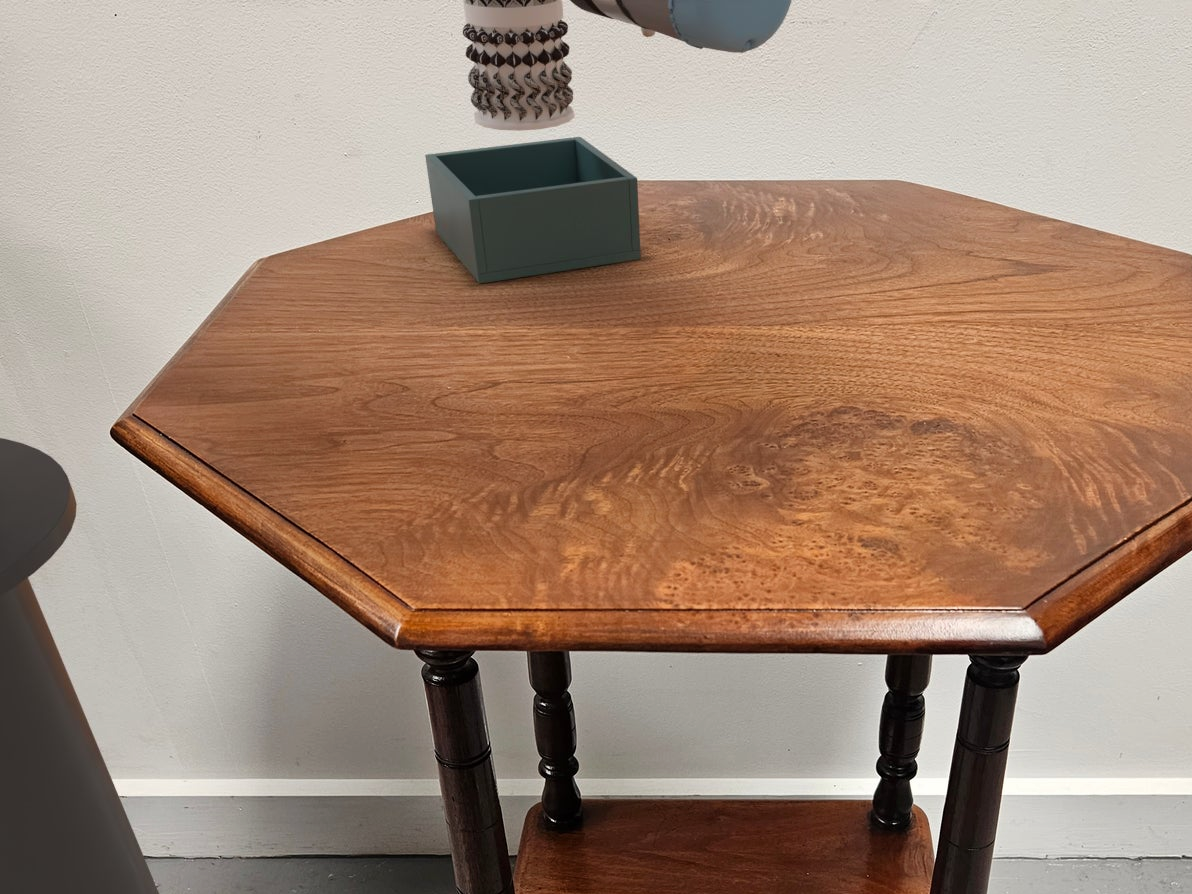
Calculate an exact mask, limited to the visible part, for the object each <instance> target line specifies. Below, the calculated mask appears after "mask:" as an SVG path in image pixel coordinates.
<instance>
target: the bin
mask: <svg viewBox="0 0 1192 894" xmlns="http://www.w3.org/2000/svg"><path fill="white" fill-rule="evenodd" d="M424 158H425V163H426V170H427V171H426V172H427V179H428V184H429V192H430V198H431V199H430V200H431V207H432V212H433V219H434V227H435V232H436V234H437V236H439V238H440V239H441V240H442V241H443V243H445V245H446V246H447V248H449V250H450V251H451V252H452V253H453V254H454V255H455V257H456V258H457V259H458V260H459V262H460V263H461V264H462V265H463V266H464V267H465V268H466V270H467V271H468V272H469V273H470V274H471V276H472V277H473V278H474V280H475V281H476V282H477V283H478V284H480V285H481V284H487V283H492V282H493V283H494V282H500V281H506V280H507V281H508V280H514V279H519V278H526V277H532V276H539V275H545V274H552V273H559V272H565V271H571V270H577V269H584V268H590V267H599V266H606V265H611V264H618V263H624V262H630V261H638V260H642V252H641V251H642V250H641V234H640V233H641V232H640V211H639V210H640V209H639V186H638V177H636V176H635V175H634V174H632V173H631V172H630V171H628V170H627V169H625V168H624V167H623V166H622V165H620V164H618V163H617V162H616V161H615V160H613V159H612V158H610V157H609V156H607V155H606V153H603V152H602V151H601V150H599V149H598V148H596V146H594V145H592V144H591V143H590V142H589V141H587V140H586V139H585V138H583V137H582V136H574V137H566V138H565V137H564V138H556V139H548V140H540V141H531V142H530V141H529V142H523V143H522V142H521V143H514V144H505V145H496V146H488V147H481V148H480V147H479V148H472V149H471V148H470V149H463V150H462V149H461V150H454V151H453V150H452V151H447V152H436V153H428V154H427V153H426V154H425V156H424Z"/></svg>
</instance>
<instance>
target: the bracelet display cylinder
mask: <svg viewBox="0 0 1192 894" xmlns="http://www.w3.org/2000/svg"><path fill="white" fill-rule="evenodd" d="M462 1H463V8H464V16H465V18H464V19H465V23H466V24H465V25H464V26H463V29H462V35H463V37H464V38H466V39H467V40H469V41H471V43H470V45H468V46H467V47H466V50H465V57H466V58H467V59H469V60H470V61H471V62H473V66H472V68H471V69H470V71H469V72H468V75H467V81H468V84H469V85H470V86H471V87H472V88H473V91H472V93H471V95H470V102H471V105H473V107H474V108H475V109H477V110H476V111H474V113H473V116H474V122H475V124H476V125H479V126H481V127H483V128H486V129H492V130H499V131H517V132H518V131H535V130H542V129H548V128H555V127H558V126H561V125H564V124H568V123H570V122H571V121H572V120H573V119H574V118H575V117H576V116H575V112H574V109H573V108H572V106H571V105H570V104H571V103H572V102H573V101H574V90H573V89H572V87H570V86H569V85H570V83H571V82H572V79H573V78H572V75H573V71H572V69H571V67H569V66H568V65H567V64H566V62H565V61H564V60H565V58H566V57H567V56H568V55H569V54H570V46H569V44H568V43H566V42H565V41H563V39H562V38H563V37H564V36H566V35H567V34H568V33H569V32H568V30H569V25H568V23H567V22H566V21H564V20H563V19H564V8H563V0H462Z"/></svg>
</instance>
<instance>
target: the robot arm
mask: <svg viewBox="0 0 1192 894" xmlns="http://www.w3.org/2000/svg"><path fill="white" fill-rule="evenodd" d="M569 1H570V2H571V3H572V4H573V5H574V6H575V7H577V8H578V9H581V10H583V11H585V12H587V13H590V14H593V15H597V16H601V17H603V18H607V19H611V20H616V21H618V22H619V21H620V22H622V23H625V24H629V25H633V26H636V27H639V28H640V30H641V33H642V36H644V37H646V38H651V37H653V36H655V35H656V33H658V34H662V35H664V36H667V37H670V38H673V39H676V40H678V41H681V42H683V43H685V44H687V45H688V46H690V47H693V48H696V49H700V50H702V49H703V48H704V49H709V50H714V51H720V52H727V53H740V54H744V53H746V52H749V51H752V50H755V49H756V48H757V49H758V48H759V47H761V46H762V45H764V44H766V42H767V41H769V40H770V39H771V38H772V37H773V36H774V35H775V34H776V33H777V31H779V29H780V27H781V26H782V25H783V23H784V21H785V19H786V17H787V15H788V13H789V10H790V8H791V5H792V2H793V1H792V0H569Z"/></svg>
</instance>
